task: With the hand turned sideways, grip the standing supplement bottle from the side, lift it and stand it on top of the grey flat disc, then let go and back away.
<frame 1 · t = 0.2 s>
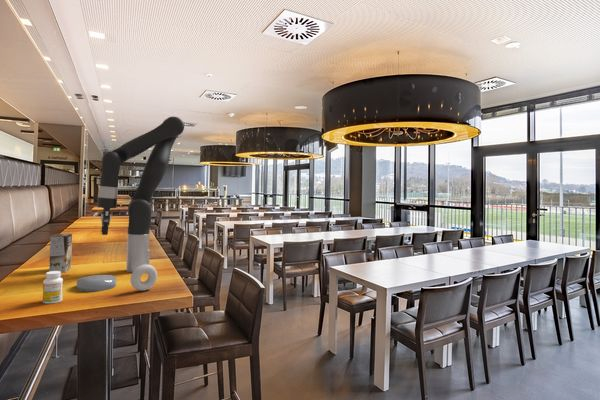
hand: (104, 233, 151), 18 cm above the table, tool pointing down, fingers open, 8 cm apart
coffee box: (60, 270, 154), on the table
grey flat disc: (96, 286, 132), on the table
supplement bottle: (52, 301, 114), on the table
donut: (143, 291, 130), on the table
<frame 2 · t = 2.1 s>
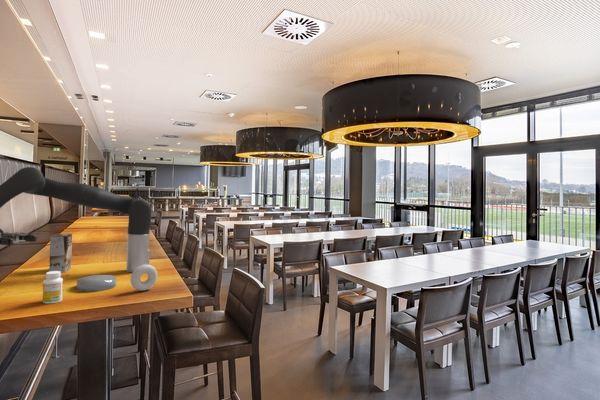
hand: (24, 240, 115), 20 cm above the table, tool horizontal, fingers open, 8 cm apart
nothing on the table moved.
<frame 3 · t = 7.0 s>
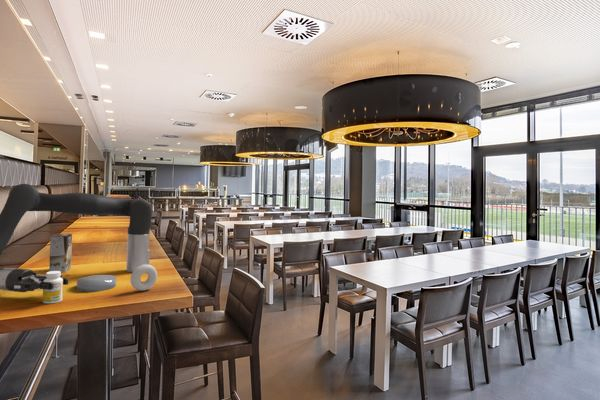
hand: (60, 283, 114), 6 cm above the table, tool horizontal, fingers closed on supplement bottle, 5 cm apart
supplement bottle: (52, 301, 114), on the table, touching gripper
everything else where it was.
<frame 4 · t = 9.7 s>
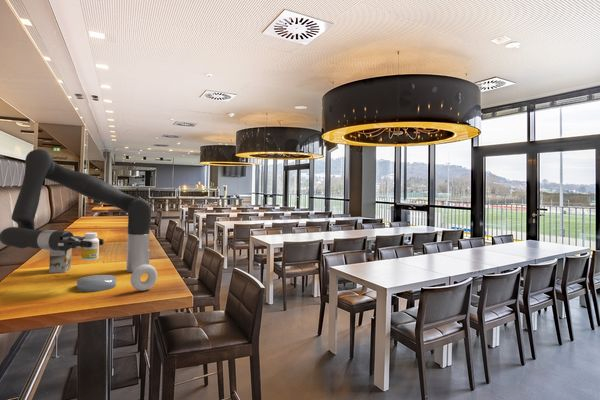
hand: (97, 243, 127), 18 cm above the table, tool horizontal, fingers closed on supplement bottle, 5 cm apart
supplement bottle: (90, 259, 128), point 11 cm above the table, touching gripper
everything else where it was.
when the fingers open (10 cm above the table, at t = 12.7 s): supplement bottle drops 1 cm, resting on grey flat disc.
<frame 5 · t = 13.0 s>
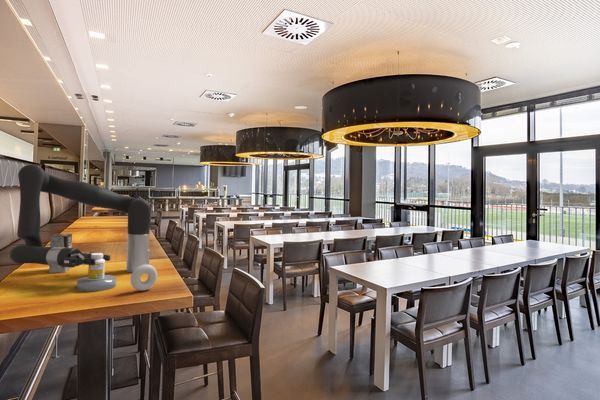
hand: (102, 260, 131), 10 cm above the table, tool horizontal, fingers open, 7 cm apart
supplement bottle: (96, 279, 132), point 3 cm above the table, touching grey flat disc
everything else where it was.
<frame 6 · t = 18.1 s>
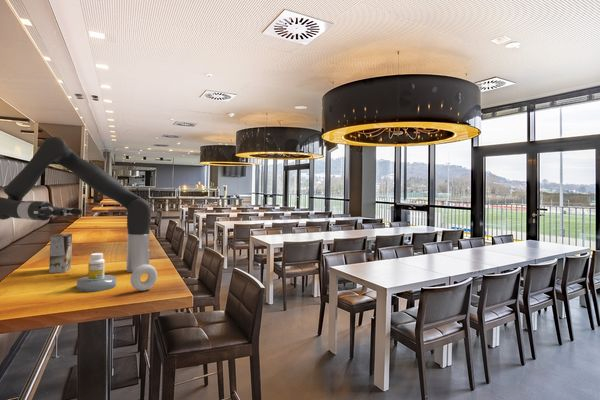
hand: (72, 212, 133), 28 cm above the table, tool horizontal, fingers open, 8 cm apart
nothing on the table moved.
at the end: supplement bottle 0.2 cm off-centre on the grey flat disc, point 2.8 cm above the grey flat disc's base; supplement bottle tilted 1°; the gripper is holding nothing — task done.
